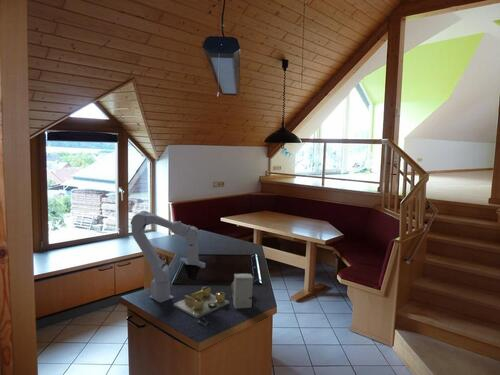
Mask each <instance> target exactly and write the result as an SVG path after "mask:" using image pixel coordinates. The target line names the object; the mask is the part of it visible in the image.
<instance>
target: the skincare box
mask: <svg viewBox="0 0 500 375" xmlns="http://www.w3.org/2000/svg"><path fill="white" fill-rule="evenodd" d="M233 278H234V279H233V281H234V295H233V298H232V301H233V302H232V305H233V307H234V309H236V310H237V309H250V308H252V304H253V288H254V284H253V283H254V276H253V275H252V273H233Z"/></svg>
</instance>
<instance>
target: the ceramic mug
mask: <svg viewBox="0 0 500 375" xmlns="http://www.w3.org/2000/svg"><path fill="white" fill-rule="evenodd" d="M230 292H231V297H232V298H231V299H233V296H234V280H233V281H232V282H231V286H230Z"/></svg>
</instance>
